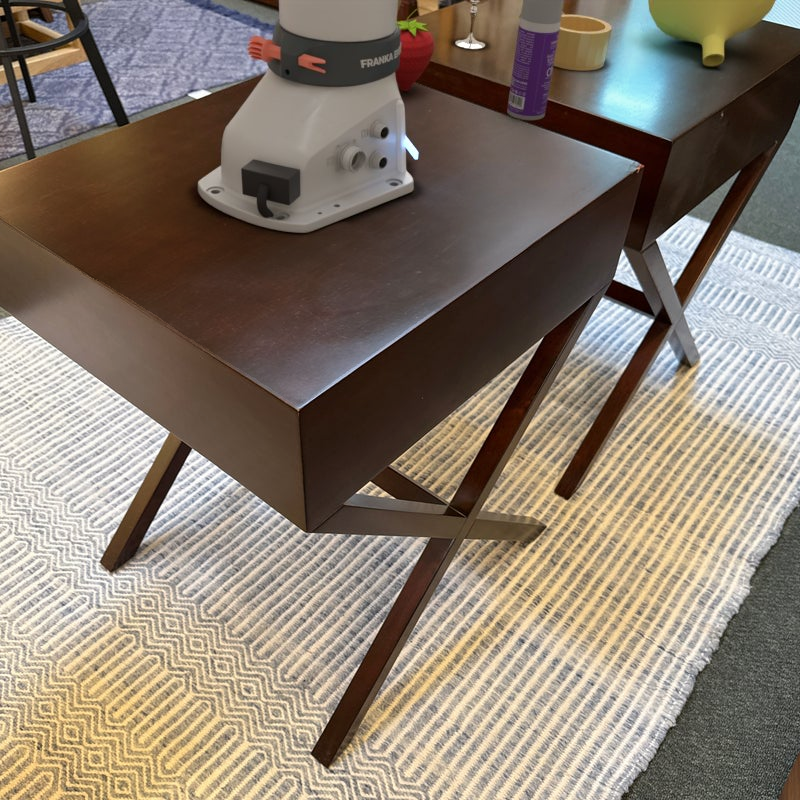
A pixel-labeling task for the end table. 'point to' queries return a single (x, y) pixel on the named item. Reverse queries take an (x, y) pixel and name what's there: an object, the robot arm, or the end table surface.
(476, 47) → the wineglass
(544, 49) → the container
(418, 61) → the strawberry
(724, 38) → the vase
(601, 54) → the tape roll
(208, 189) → the robot arm
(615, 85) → the end table surface
